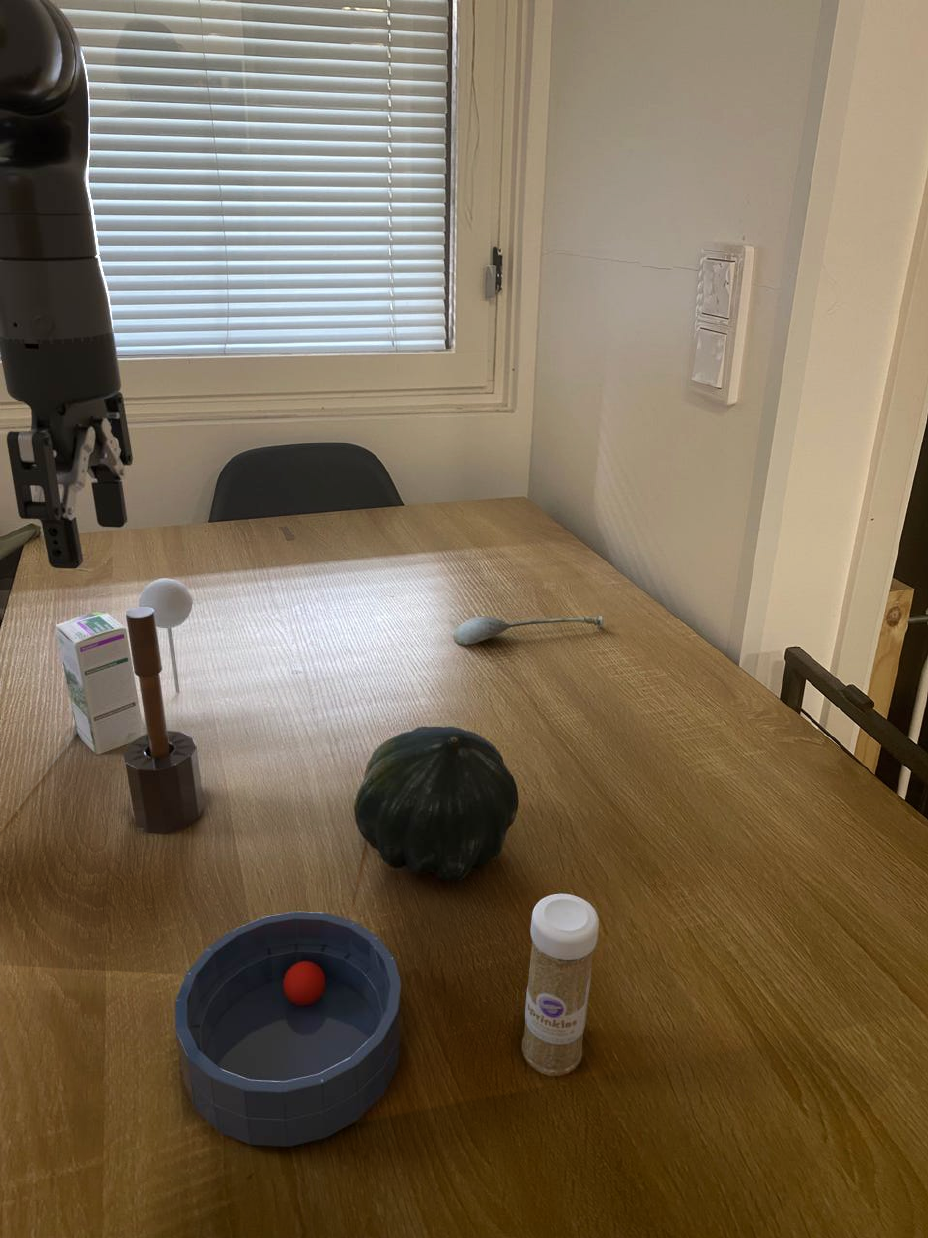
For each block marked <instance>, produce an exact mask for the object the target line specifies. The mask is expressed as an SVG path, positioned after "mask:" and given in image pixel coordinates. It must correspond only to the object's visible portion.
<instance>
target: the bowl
mask: <svg viewBox="0 0 928 1238" xmlns="http://www.w3.org/2000/svg"><path fill="white" fill-rule="evenodd" d="M302 961H310V962H313V963H315V964H317V965H318V966H319V967H320V968H321V969H322V971H323V973H324V976H325V989H324V992H323V994H322V995H321V997H320V998H319V999H318V1000H317V1001H316V1002H314V1003H313V1004H310V1005H307V1006H299V1005H296V1004H294V1003H292V1002H291V1001H290V1000H289V999H288V998H287V997H286V995H285V993H284V989H283V981H284V977H285V975H286V973H287V971H288V970H289V969H290V968H291V967H292V966H293V965H294V964H296V963H298V962H302ZM402 986H403V985H402V981H401V977H400V972H399V969H398V965H397V962H396V959H395V957H394V956H393V954H392V953H391V951H390V950H389V949H388V947H387V946H386V945H385V943H383V941H382V940H381V938H380V937H379V936H378V935H376V934H375V933H373V932H371V931H370V930H368V929H367V928H366V927H364V926H363V925H361V924H360V923H358V922H356V921H354V920H351V919H348V918H345V917H341V916H338V915H335V914H331V913H328V912H327V913H326V912H316V911H315V912H314V911H297V910H296V911H290V912H285V913H278V914H273V915H267V916H262V917H260V918H257V919H254V920H253V921H250V922H248V923H245V924H243V925H241V926H238V927H235V928H233V929H232V930H230V931H228V932H227V933H226V934H224V935H223V936H222V937H219V938H218V939H217V940H216V941H214V942H213V943H212V944H210V945H209V946H208V947H206V949H205V950H204V951H203V952H202V954H200V956H199V957H198V958H197V959H196V960H195V962H194V963H193V964H192V965H191V967H190V968H189V969H188V970H187V971H186V973H185V976H184V977H183V981H182V982H181V985H180V988H179V990H178V993H177V995H176V998H175V1002H174V1032H175V1038H176V1043H177V1049H178V1057H179V1063H180V1069H181V1075H182V1081H183V1085H184V1088H185V1091H186V1092H187V1094H188V1095H189V1096H188V1097H189V1099H190V1101H191V1103H192V1106H193V1108H194V1110H195V1111H196V1112H197V1113H198V1114H199V1115H200V1116H201V1117H202V1118H203V1119H204V1120H206V1122H207V1123H209V1124H210V1125H211V1126H212V1127H213V1128H214V1129H215V1130H216V1131H217V1132H219V1133H220V1134H223V1135H225V1136H228V1137H230V1138H233V1139H235V1140H238V1141H240V1142H243V1143H245V1144H248V1145H250V1146H251V1145H252V1146H265V1147H283V1148H288V1147H289V1148H290V1147H294V1146H298V1145H302V1144H303V1145H304V1144H307V1143H310V1142H315V1141H319V1140H323V1139H326V1138H329V1137H330V1136H332V1135H334V1134H336V1133H338V1132H339V1131H341V1130H343V1129H344V1128H346V1127H348V1126H350V1125H352V1124H353V1123H355V1122H357V1121H359V1119H361V1118H362V1117H363V1116H364V1115H365V1114H366V1113H367V1111H368V1110H370V1109H371V1107H372V1106H373V1105H375V1104H376V1103H377V1102H378V1100H380V1099H381V1097H382V1096H383V1095H384V1094H385V1092H386V1090H387V1088H388V1086H389V1084H390V1082H391V1080H392V1078H393V1076H394V1074H395V1072H396V1070H397V1068H398V1066H399V1064H400V1054H401V1045H402V1037H403V1021H402V1020H403V1016H402V1015H403V1011H402V1010H403V1009H402V1008H403V1006H402V1005H403V1004H402V1003H403V1000H402V999H403V998H402V997H403V996H402V992H403V991H402Z"/></svg>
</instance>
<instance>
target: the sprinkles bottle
mask: <svg viewBox="0 0 928 1238" xmlns="http://www.w3.org/2000/svg"><path fill="white" fill-rule="evenodd" d="M530 920H531V921H530V931H529V932H530V937H531V949H530V951H531V952H530V962H529V971H528V983H527V987H526V996H525V1007H524V1032H523V1037H522V1040H521V1052H522V1055H523V1057H524V1059H525V1061H526V1063H527V1064H528V1065H529V1066H530V1067H531V1068H532V1069H534V1070H535V1071H536V1072H538V1073H540V1074H542V1075H545V1076H549V1077H560V1076H564V1075H568V1074H571V1073H570V1072H573V1070H575V1069H576V1068H577V1067H578V1065H579V1064H580V1063H581V1060H582V1057H583V1038H584V1030H585V1027H586V1020H587V1011H588V1004H589V994H590V987H591V978H592V963H593V956H594V951H595V949H596V946H597V943H598V937H599V927H600V920H599V916H598V913H597V911H596V909H595V908H594V907H593V906H592V904H590V903H589V902H588V901H587V900H586V899H583V898H581V897H579V896H577V895H574V894H569V893H555V894H550V895H547V896H545V897H543V898H541V899H540V900H539V901H538V902H537V903H536V905H534V908H533V910H532V913H531V919H530Z"/></svg>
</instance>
